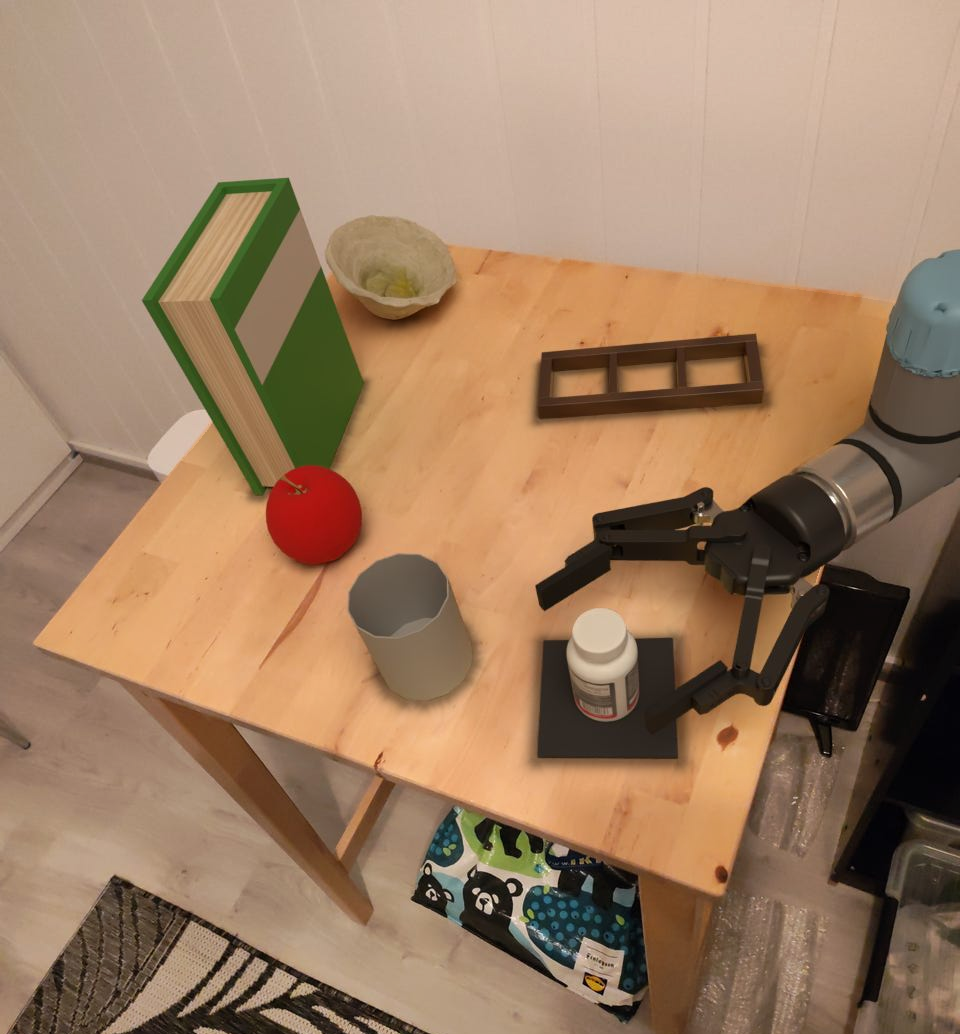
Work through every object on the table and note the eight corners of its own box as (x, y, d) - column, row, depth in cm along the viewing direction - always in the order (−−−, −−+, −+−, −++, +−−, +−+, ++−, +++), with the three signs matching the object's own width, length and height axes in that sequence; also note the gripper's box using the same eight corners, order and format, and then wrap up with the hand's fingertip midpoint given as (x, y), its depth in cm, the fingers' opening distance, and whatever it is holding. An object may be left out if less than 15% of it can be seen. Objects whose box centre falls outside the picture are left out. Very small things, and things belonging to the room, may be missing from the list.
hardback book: (317, 497, 88) (219, 298, 68) (255, 494, 90) (141, 300, 70) (363, 383, 97) (288, 177, 77) (306, 382, 99) (218, 182, 79)
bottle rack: (754, 347, 89) (756, 333, 87) (762, 403, 84) (764, 389, 83) (543, 365, 93) (541, 351, 92) (539, 419, 89) (537, 406, 87)
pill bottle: (613, 655, 71) (608, 587, 63) (652, 700, 68) (652, 635, 60) (560, 688, 70) (548, 624, 62) (598, 735, 67) (590, 674, 59)
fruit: (317, 499, 88) (282, 428, 80) (388, 521, 84) (359, 449, 76) (267, 564, 84) (225, 497, 76) (339, 590, 81) (303, 523, 72)
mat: (672, 640, 71) (672, 637, 71) (677, 759, 65) (677, 756, 65) (544, 643, 73) (543, 640, 73) (538, 758, 67) (537, 755, 67)
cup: (390, 712, 72) (356, 652, 64) (372, 638, 77) (338, 572, 68) (483, 682, 72) (461, 617, 64) (459, 609, 77) (436, 540, 69)
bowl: (438, 352, 98) (418, 275, 89) (332, 345, 102) (303, 271, 94) (477, 273, 105) (461, 195, 96) (376, 269, 109) (353, 194, 101)
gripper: (929, 646, 61) (700, 806, 58) (704, 461, 75) (508, 582, 71) (960, 585, 55) (705, 760, 52) (708, 396, 69) (493, 525, 65)
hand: (590, 657), depth 62 cm, fingers open, 13 cm apart
